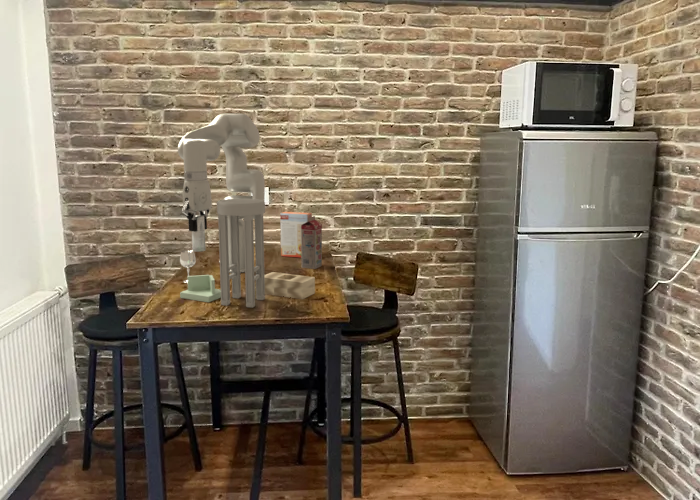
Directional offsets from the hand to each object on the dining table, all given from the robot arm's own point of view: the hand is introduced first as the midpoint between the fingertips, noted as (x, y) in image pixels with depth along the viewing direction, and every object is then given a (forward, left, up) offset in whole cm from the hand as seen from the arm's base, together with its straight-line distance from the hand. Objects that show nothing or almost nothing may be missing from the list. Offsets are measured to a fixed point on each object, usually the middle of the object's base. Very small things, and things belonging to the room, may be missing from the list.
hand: (198, 229), depth 202 cm
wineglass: (-19, +16, -25) cm, 35 cm away
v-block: (0, +1, -24) cm, 24 cm away
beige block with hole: (+24, +19, -24) cm, 39 cm away
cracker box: (-6, +77, -25) cm, 81 cm away
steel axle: (0, 0, -7) cm, 7 cm away
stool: (+16, +3, -25) cm, 30 cm away
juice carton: (+11, +61, -25) cm, 67 cm away
